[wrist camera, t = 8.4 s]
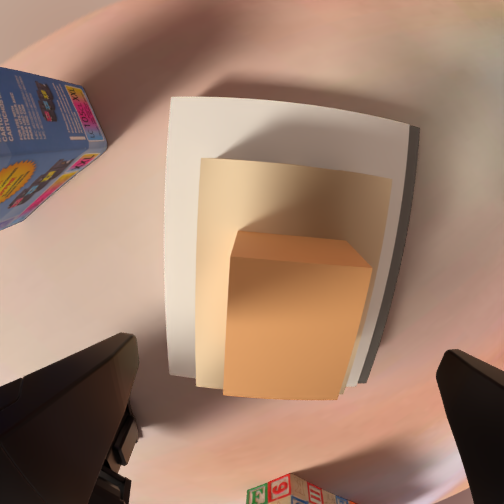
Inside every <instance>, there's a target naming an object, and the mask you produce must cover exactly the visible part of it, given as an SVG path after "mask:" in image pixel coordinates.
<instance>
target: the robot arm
mask: <svg viewBox="0 0 504 504" xmlns="http://www.w3.org/2000/svg"><path fill="white" fill-rule="evenodd" d="M138 366H139V356H138V348H137V341H136V337H135V336H134V335H133V334H128V333H118V334H116V335H114V336H112V337H110V338H108V339H105V340H103V341H101V342H99V343H97V344H95V345H92V346H90V347H88V348H86V349H84V350H82V351H79V352H77V353H75V354H73V355H71V356H68V357H66V358H64V359H62V360H60V361H57V362H55V363H53V364H51V365H48V366H46V367H44V368H42V369H40V370H37V371H35V372H33V373H31V374H28V375H26V376H24V377H23V378H19V379H17V380H15V381H13V382H10V383H8V384H5V385H3V386H1V387H0V504H129V496H130V488H131V480H130V479H128V478H126V477H125V478H124V477H123V476H121V475H119V474H118V471H119V469H120V466H121V465H123V466H125V465H127V464H128V461H129V458H130V456H131V453H132V451H133V448H134V445H135V443H137V442H138V435H139V433H138V429H137V425H136V421H135V418H134V416H133V415H132V411H131V407H130V402H129V396H130V393H131V389H132V386H133V383H134V379H135V376H136V373H137V370H138ZM436 380H437V383H438V387H439V390H440V394H441V397H442V401H443V404H444V408H445V412H446V415H447V419H448V422H449V424H450V427H451V430H452V433H453V436H454V439H455V441H456V444H457V447H458V450H459V453H460V456H461V460H462V463H463V466H464V469H465V473H466V476H467V479H468V483H469V486H470V490H471V494H472V498H473V501H474V504H504V371H502V370H500V369H498V368H496V367H494V366H492V365H490V364H488V363H486V362H484V361H481V360H479V359H477V358H475V357H473V356H471V355H469V354H467V353H465V352H463V351H461V350H459V349H452V350H447V351H446V352H445V353H444V356H443V358H442V360H441V363H440V365H439V367H438V369H437V372H436Z"/></svg>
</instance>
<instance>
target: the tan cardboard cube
mask: <svg viewBox="0 0 504 504" xmlns="http://www.w3.org/2000/svg"><path fill="white" fill-rule="evenodd" d="M372 269H373V268H372V267H371V266H370V265H369V264H368V263H367V262H366V261H365V260H364V258H363V257H362V256H361V255H360V254H359V253H358V252H357V251H356V250H355V249H354V248H353V247H352V246H351V245H350V244H349V243H348V242H347V241H345V240H335V239H325V238H314V237H303V236H293V235H282V234H270V233H259V232H247V231H238V232H237V235H236V239H235V242H234V245H233V249H232V252H231V255H230V268H229V285H228V302H227V320H226V340H225V360H224V383H223V395H226V396H237V397H249V398H264V399H284V400H337V398H338V395H339V392H340V389H341V386H342V383H343V380H344V377H345V374H346V371H347V367H348V364H349V361H350V357H351V354H352V350H353V347H354V343H355V340H356V336H357V332H358V329H359V325H360V321H361V317H362V313H363V309H364V305H365V301H366V296H367V292H368V288H369V283H370V279H371V274H372Z"/></svg>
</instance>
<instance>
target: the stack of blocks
mask: <svg viewBox="0 0 504 504" xmlns="http://www.w3.org/2000/svg"><path fill="white" fill-rule="evenodd" d="M246 504H357V503H354V502H352V501H349V500H346V499H343V498H341V497H339V496H336V495H334V494H331V493H329V492H327V491H325V490H322V489H321V488H319V487H317V486H315V485H313V484H311V483H309V482H306V481H305V480H303V479H301V478H299V477H297V476H295V475H293V474H291V473H289V474H286V475H284V476H282V477H279V478H277V479H275V480H272V481H270V482H268V483H265V484H263V485H260V486H257V487H255V488H252V489H249V490H247V499H246Z"/></svg>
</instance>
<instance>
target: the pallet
mask: <svg viewBox="0 0 504 504" xmlns="http://www.w3.org/2000/svg"><path fill="white" fill-rule="evenodd" d="M391 187H392V179H389V178H384V177H379V176H373V175H368V174H363V173H357V172H350V171H343V170H332V169H325V168H317V167H310V166H304V165H296V164H287V163H271V162H260V161H248V160H241V159H227V158H201V164H200V179H199V197H198V218H197V243H196V284H195V360H196V386H197V387H205V388H214V389H223V383H224V360H225V340H226V320H227V302H228V285H229V268H230V255H231V252H232V249H233V245H234V242H235V239H236V235H237V232H238V231H247V232H259V233H270V234H282V235H293V236H303V237H314V238H325V239H335V240H345V241H347V242H348V243H349V244H350V245H351V246H352V247H353V248H354V249H355V250H356V251H357V252H358V253H359V254H360V255H361V256H362V257H363V258H364V260H365V261H366V262H367V263H368V264H369V265H370V266H371V267H372V268H373V269H372V274H371V279H370V283H369V288H368V292H367V296H366V301H365V305H364V309H363V313H362V317H361V321H360V325H359V329H358V332H357V336H356V340H355V343H354V347H353V350H352V354H351V357H350V361H349V364H348V367H347V371H346V374H345V377H344V380H343V383H342V386H341V389H340V392H339V394H343V393H344V390H345V387H346V384H347V381H348V378H349V375H350V372H351V369H352V366H353V363H354V359H355V356H356V353H357V349H358V346H359V342H360V339H361V335H362V331H363V328H364V324H365V320H366V316H367V313H368V309H369V304H370V300H371V296H372V292H373V288H374V283H375V279H376V274H377V269H378V265H379V260H380V255H381V249H382V244H383V239H384V233H385V227H386V221H387V215H388V208H389V202H390V194H391Z"/></svg>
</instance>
